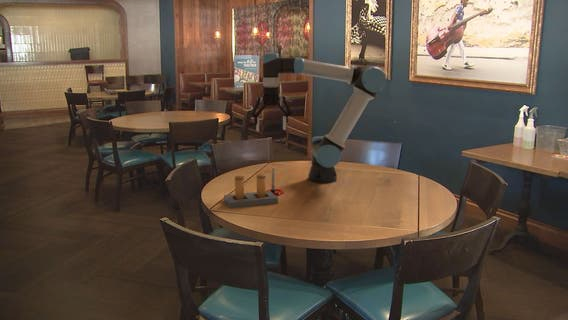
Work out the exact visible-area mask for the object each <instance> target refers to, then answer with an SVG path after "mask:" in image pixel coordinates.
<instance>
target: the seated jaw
mask: <svg viewBox="0 0 568 320" xmlns="http://www.w3.org/2000/svg"><path fill="white" fill-rule="evenodd" d="M244 193H245V176H243V175H236V176H235V177H234V194H235V200H241V199H244Z"/></svg>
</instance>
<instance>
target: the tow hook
mask: <svg viewBox="0 0 568 320" xmlns="http://www.w3.org/2000/svg"><path fill="white" fill-rule="evenodd" d="M271 170H272V171H271V185H270V187H271V188H268V189H267V190H266V191H271V192H272V193H273V194H274V195H275V196H281V195H283V194H284V193H285V190H284V189H282V188H276V186H275V168H274V167H273V168H272V169H271Z"/></svg>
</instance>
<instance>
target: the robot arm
mask: <svg viewBox="0 0 568 320" xmlns="http://www.w3.org/2000/svg"><path fill="white" fill-rule="evenodd" d="M279 74H281V75H282V74H285V75H287V74H288V75H289V74H293V75H304V76H308V77H315V78H319V79H320V78H321V79H325V80H326V79H327V80H334V81H339V82H343V83H345V82H346V83H347V84H348V85H350V86H351V85H352V86H353V87H352V88H353V93H352V94H351V95H350V97H349V100H348V101H347V103H346V104H345V106H344V108H343V110H342V112H340V115H339V116H338V119H337V120H336V121H335V123H334V125H333V127H332V128H331V130H330V132H329V133H327V134H325V135H322V136H313V137H312V139H311V166H310V170H309V171H308V176H307V179H308V181H310V182H313V183H320V184H323V183H324V184H327V183H333V182H336V181H337V180H338V175H337V171H336V168H335V167H336V166H337V165H338V164H339V162H340V161H341V159H342V153H343V152H344V150H345V148H346V145H345V142H346V140H347V139H348V138H349V135H350V134H351V133H352V130H353V128H354V127H355V125H356V124H357V122H358V120H359V119H360V117H361V116H362V114H363V111H364V110H365V108H366V107H367V105H368V103H369V102H370V101H371V100H374V99H375V98H376V97H377V95H378V94H379V93H378V92H380V91H382V90H383V89H384V88H385V86H386V83H387V77H386V73H385V71H384V70H383V69H381V68H380V67H378V66H376V65H375V66H373V65H371V66H370V65H364V66H363V65H351V66H346V65H339V64H333V63H327V62H321V61H316V60H309V59H304V58H303V57H297V56H295V57H292V56H287V57H280V56H279V53H278V52H277V53H271V52H270V53H268V52H267V53H264V54H263V56H262V86H263V88H262V97H260V96H257V97H256V100H255V104H254V105H253V107H252V109H251V112H250V113H249V114H250V117H253V124H254V125H255V126H256V128H255V131H256V132H260V117H259V116H260V115H261V113H262V112H263V111H264V109H265V108H266V107H267V106H268V107H275V106H276V107H277V108H278V109H279V111H280V112H281V113H282V115H283V116H282V130H284V131H287V124H288V121H289V117H290V116H291V115H292V112H291V109H290V107H289V105H288V103H287V100H286V96H285V95H281V96H279V95H280V89H279V88H280V87H279V85H280V83H279V82H280V81H279V80H280V79H279ZM262 101H263V103H262V104H261V106H260V107H259V105H260V103H261V102H262ZM279 101H280V102H282V105H283V107H284V108H283V107H282V105H281V104H280V103H279ZM258 107H259V108H258Z"/></svg>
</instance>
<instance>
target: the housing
mask: <svg viewBox="0 0 568 320" xmlns="http://www.w3.org/2000/svg"><path fill="white" fill-rule="evenodd" d="M223 201H224V202H225V205H227V206H228V208H229V209H233V208H234V209H236V208H237V209H238V208H245V207H255V206H264V205H273V204H279V197H278V195H274V194H273V193H272V192H271V191H267V190H266V197H261V198H257V191H255V192H244V199H241V200H235V193H233V194H231V193H230V194H224V195H223Z"/></svg>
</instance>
